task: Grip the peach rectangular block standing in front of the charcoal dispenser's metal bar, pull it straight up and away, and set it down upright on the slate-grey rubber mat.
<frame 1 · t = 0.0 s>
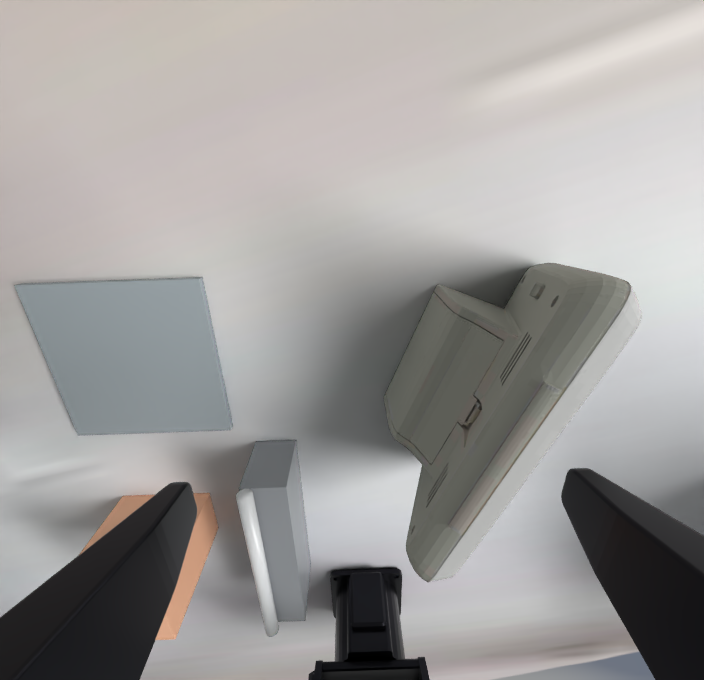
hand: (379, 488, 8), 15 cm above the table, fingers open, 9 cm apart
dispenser: (171, 512, 28), on the table
mat: (137, 361, 23), on the table
digital clock: (461, 361, 24), on the table
peach rectangular block: (172, 512, 29), on the table
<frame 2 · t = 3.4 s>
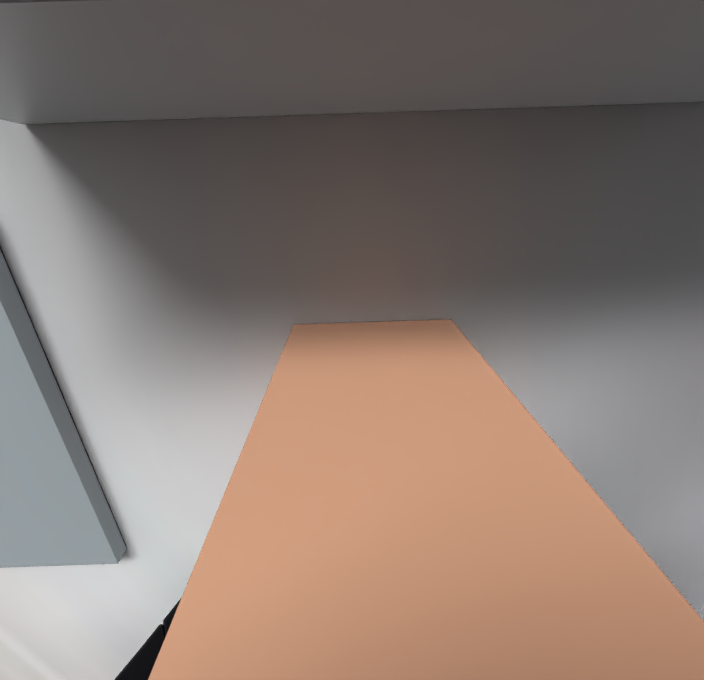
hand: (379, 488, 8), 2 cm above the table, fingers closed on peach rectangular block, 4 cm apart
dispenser: (372, 434, 10), on the table
peach rectangular block: (373, 433, 10), on the table, touching gripper
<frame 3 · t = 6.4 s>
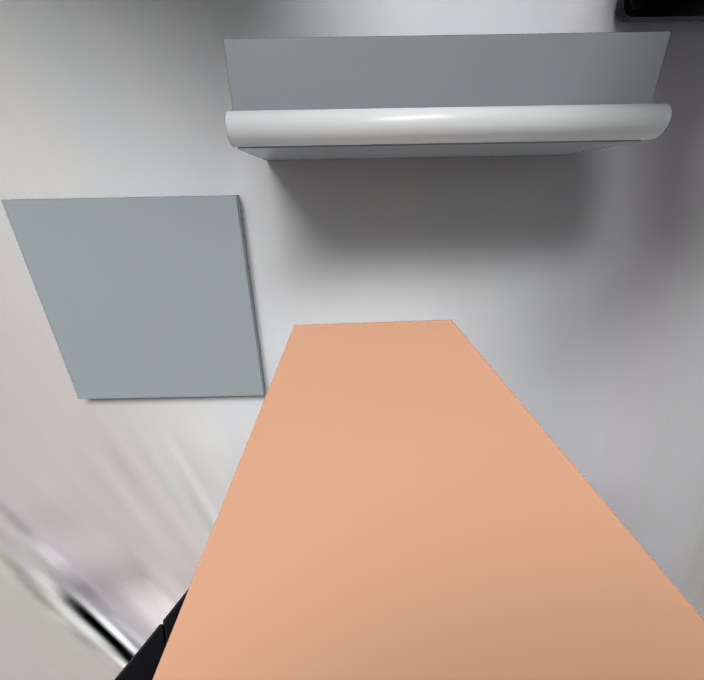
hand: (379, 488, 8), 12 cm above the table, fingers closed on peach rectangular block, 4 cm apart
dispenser: (407, 318, 19), on the table
mat: (152, 306, 19), on the table
peach rectangular block: (373, 434, 10), point 10 cm above the table, touching gripper
when the fingers open (3 cm above the table, at t = 9.3 s): peach rectangular block stays where it is, resting on mat.
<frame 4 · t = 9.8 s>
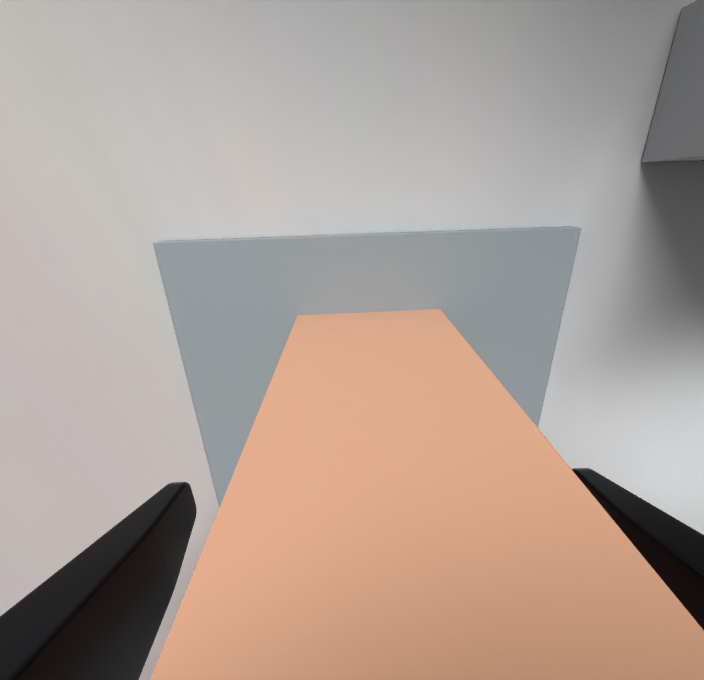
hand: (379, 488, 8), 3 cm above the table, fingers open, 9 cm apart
mat: (368, 405, 11), on the table
peach rectangular block: (371, 416, 11), resting on mat
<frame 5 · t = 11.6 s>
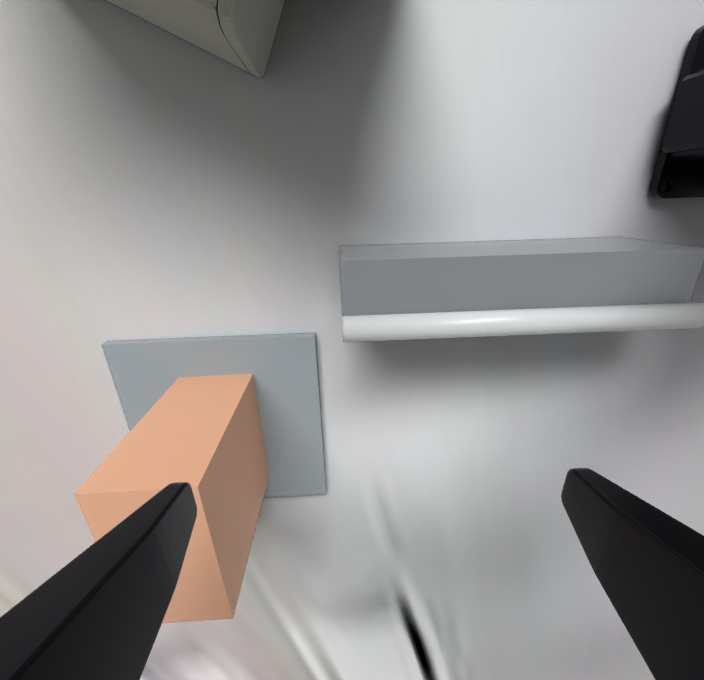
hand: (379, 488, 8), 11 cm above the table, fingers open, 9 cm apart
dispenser: (460, 425, 21), on the table
mat: (228, 422, 20), on the table
peach rectangular block: (227, 428, 20), resting on mat
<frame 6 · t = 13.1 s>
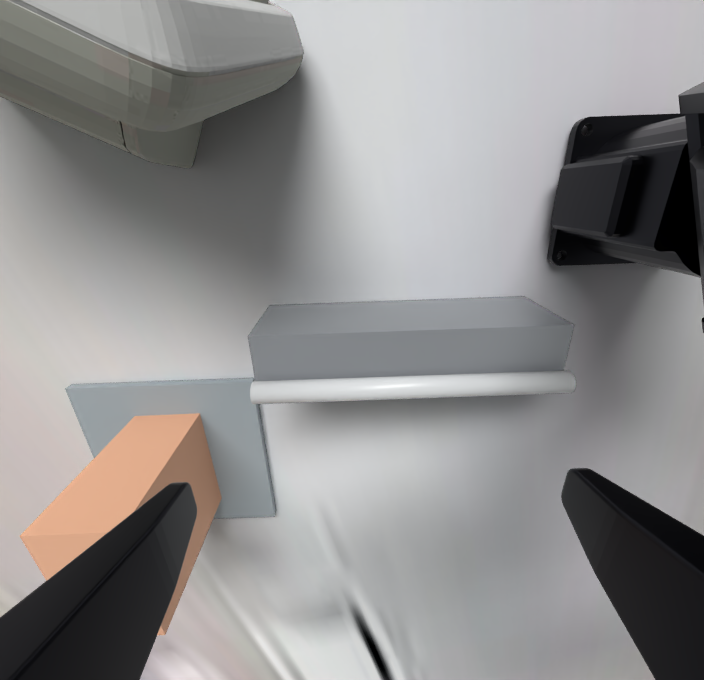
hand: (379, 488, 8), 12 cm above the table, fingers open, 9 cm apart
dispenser: (393, 457, 23), on the table
mat: (183, 453, 23), on the table
digital clock: (113, 21, 14), on the table
peach rectangular block: (180, 459, 22), resting on mat
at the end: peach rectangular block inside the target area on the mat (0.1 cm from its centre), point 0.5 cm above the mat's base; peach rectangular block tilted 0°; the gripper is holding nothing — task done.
